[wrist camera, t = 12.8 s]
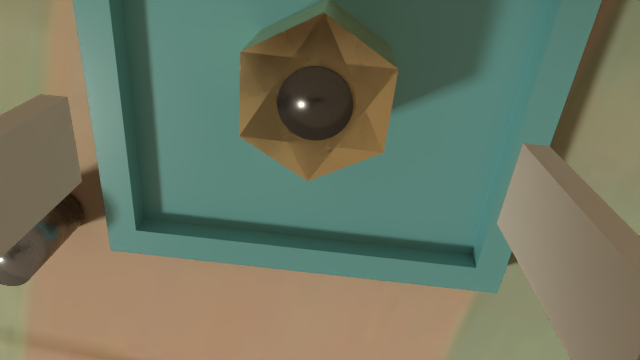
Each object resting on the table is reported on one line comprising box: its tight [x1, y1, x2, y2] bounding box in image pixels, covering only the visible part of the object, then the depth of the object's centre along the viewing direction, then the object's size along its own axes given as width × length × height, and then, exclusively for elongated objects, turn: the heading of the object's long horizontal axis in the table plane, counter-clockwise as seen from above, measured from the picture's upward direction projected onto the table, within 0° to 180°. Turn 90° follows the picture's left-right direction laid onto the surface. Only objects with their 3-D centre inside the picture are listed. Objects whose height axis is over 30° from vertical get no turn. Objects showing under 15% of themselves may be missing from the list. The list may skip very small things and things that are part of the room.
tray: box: [73, 0, 602, 293], centre depth 22 cm, size 22×22×2 cm
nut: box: [239, 0, 398, 181], centre depth 20 cm, size 6×7×5 cm
